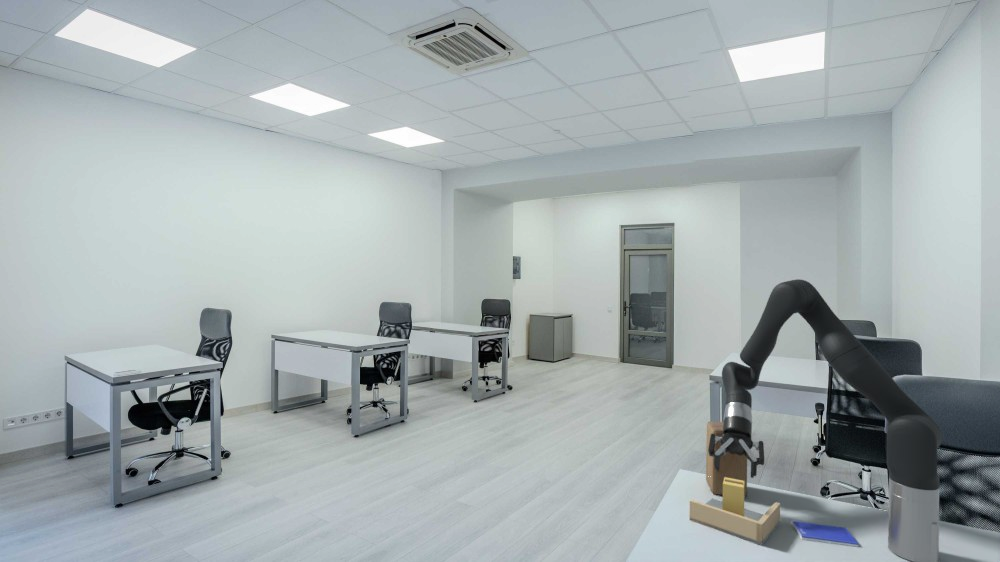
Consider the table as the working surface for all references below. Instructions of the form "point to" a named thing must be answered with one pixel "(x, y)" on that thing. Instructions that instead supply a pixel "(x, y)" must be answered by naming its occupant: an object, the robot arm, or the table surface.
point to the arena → (736, 520)
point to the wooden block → (723, 463)
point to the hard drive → (824, 533)
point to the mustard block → (733, 496)
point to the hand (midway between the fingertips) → (734, 473)
